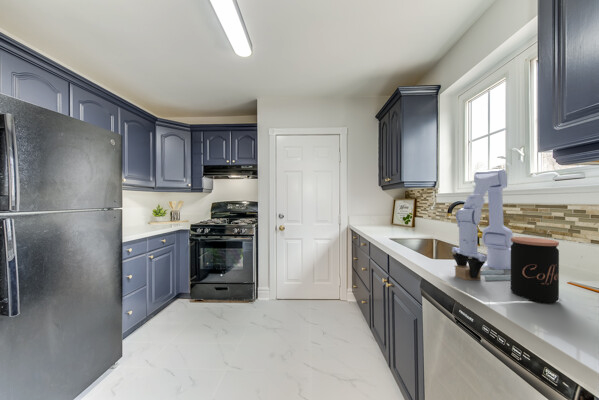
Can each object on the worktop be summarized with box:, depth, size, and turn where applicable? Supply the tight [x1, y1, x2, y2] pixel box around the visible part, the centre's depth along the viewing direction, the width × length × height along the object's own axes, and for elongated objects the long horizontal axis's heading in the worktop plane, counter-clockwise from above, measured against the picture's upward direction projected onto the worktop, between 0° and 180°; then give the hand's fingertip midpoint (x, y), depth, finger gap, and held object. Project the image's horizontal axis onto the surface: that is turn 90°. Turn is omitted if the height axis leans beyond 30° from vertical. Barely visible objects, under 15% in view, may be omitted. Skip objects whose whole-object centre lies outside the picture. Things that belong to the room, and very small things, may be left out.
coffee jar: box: [510, 236, 560, 305], centre depth 73 cm, size 11×11×18 cm
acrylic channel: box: [481, 269, 511, 281], centre depth 90 cm, size 14×7×2 cm, turn 94°
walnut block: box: [454, 264, 482, 281], centre depth 89 cm, size 6×5×4 cm
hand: (468, 275), depth 90 cm, fingers closed on walnut block, 5 cm apart
